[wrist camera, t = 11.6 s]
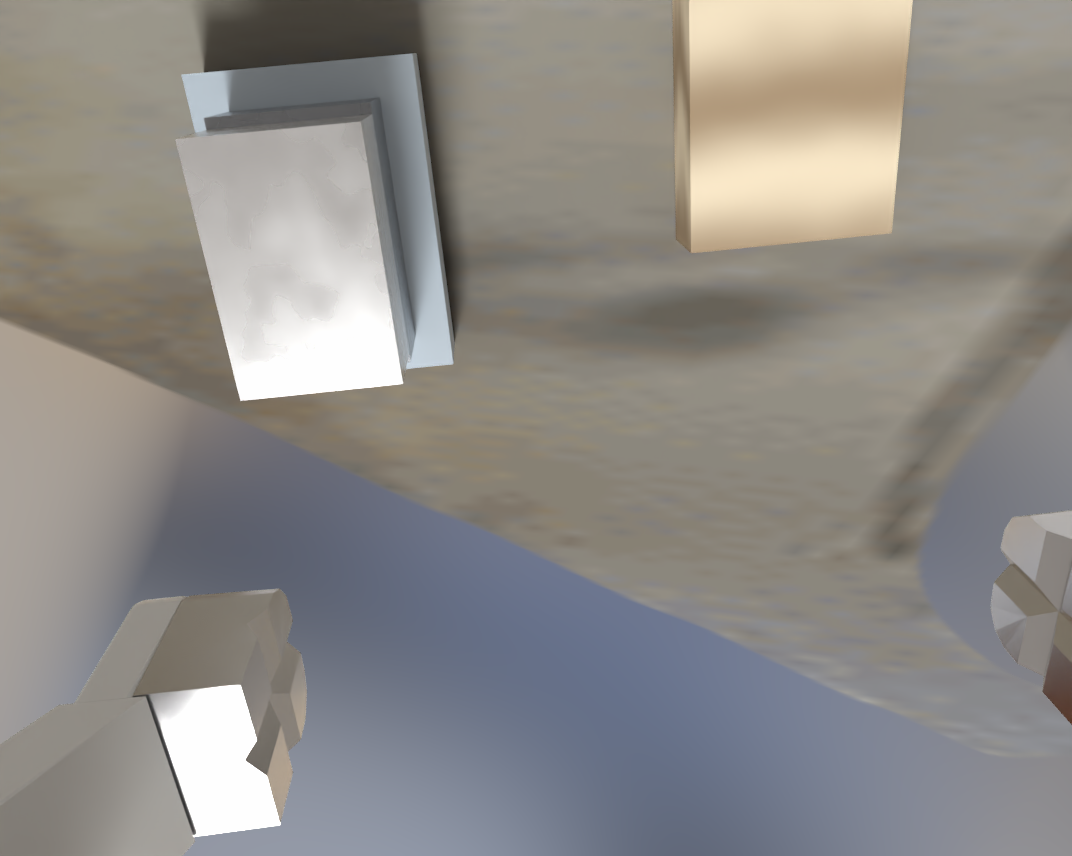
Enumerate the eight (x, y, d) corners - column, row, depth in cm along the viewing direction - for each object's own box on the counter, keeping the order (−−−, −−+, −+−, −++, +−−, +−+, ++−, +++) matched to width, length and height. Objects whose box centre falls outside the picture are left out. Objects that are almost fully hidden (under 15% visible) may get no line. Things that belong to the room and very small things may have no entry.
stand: (203, 72, 36) (181, 74, 33) (416, 53, 36) (412, 53, 33) (269, 362, 41) (255, 384, 38) (454, 343, 41) (453, 364, 38)
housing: (228, 111, 33) (172, 126, 27) (379, 97, 34) (358, 108, 27) (281, 349, 38) (242, 410, 31) (415, 335, 38) (404, 393, 31)
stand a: (671, -79, 34) (688, -90, 32) (887, -98, 35) (922, -111, 32) (675, 239, 40) (691, 253, 37) (863, 220, 40) (891, 233, 37)
